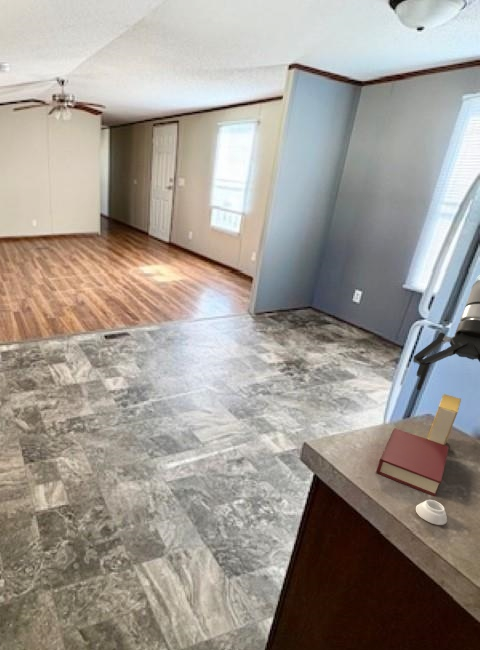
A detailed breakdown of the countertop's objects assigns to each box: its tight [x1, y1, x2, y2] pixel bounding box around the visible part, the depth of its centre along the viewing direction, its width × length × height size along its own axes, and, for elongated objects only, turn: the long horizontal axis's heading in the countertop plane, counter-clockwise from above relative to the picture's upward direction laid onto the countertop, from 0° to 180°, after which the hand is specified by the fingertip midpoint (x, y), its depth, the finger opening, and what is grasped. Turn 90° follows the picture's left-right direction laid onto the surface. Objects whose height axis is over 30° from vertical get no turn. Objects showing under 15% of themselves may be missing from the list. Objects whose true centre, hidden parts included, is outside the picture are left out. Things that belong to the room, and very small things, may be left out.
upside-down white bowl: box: [415, 499, 448, 526], centre depth 84 cm, size 5×3×5 cm
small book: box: [426, 393, 462, 445], centre depth 104 cm, size 4×8×12 cm, turn 137°
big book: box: [375, 427, 450, 497], centre depth 98 cm, size 16×11×4 cm
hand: (451, 397), depth 106 cm, fingers open, 13 cm apart
